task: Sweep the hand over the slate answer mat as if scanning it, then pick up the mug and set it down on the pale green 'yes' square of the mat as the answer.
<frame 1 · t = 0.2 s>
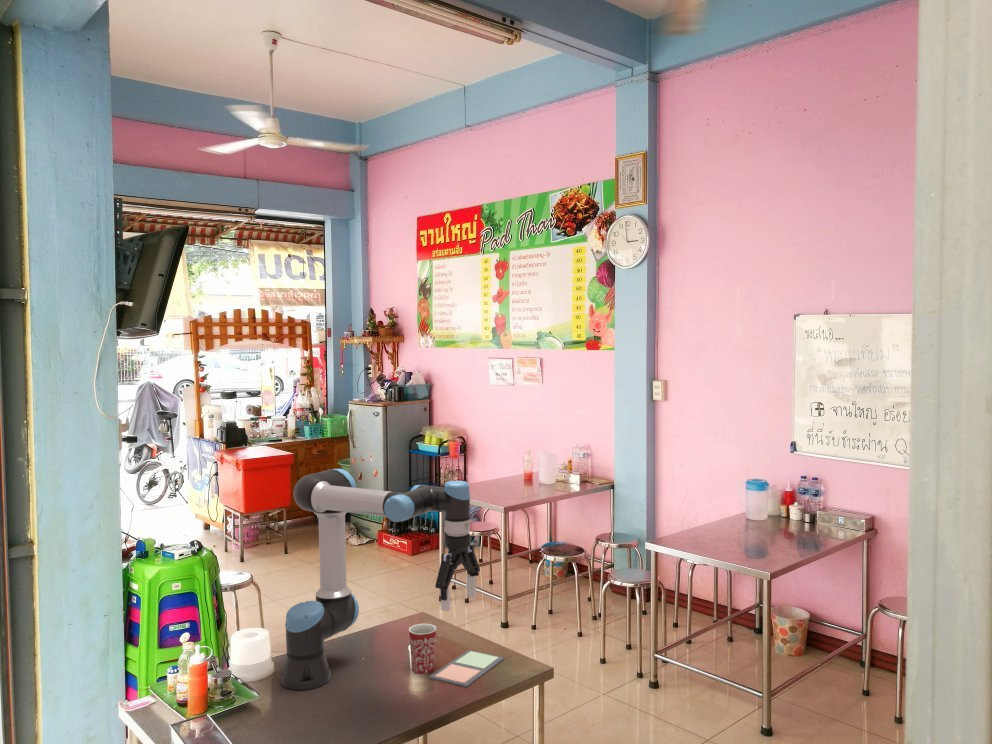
hand: (458, 603, 231), 28 cm above the table, fingers open, 13 cm apart
mug: (421, 667, 252), on the table
answer mat: (467, 668, 250), on the table
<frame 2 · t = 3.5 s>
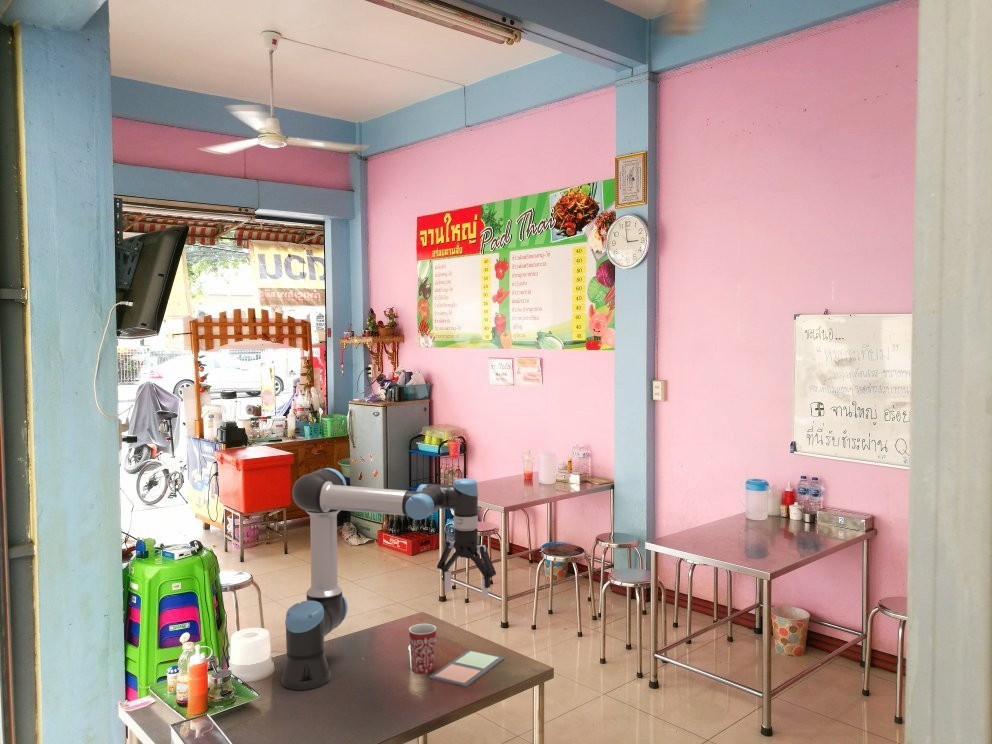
hand: (466, 594, 244), 26 cm above the table, fingers open, 13 cm apart
nothing on the table moved.
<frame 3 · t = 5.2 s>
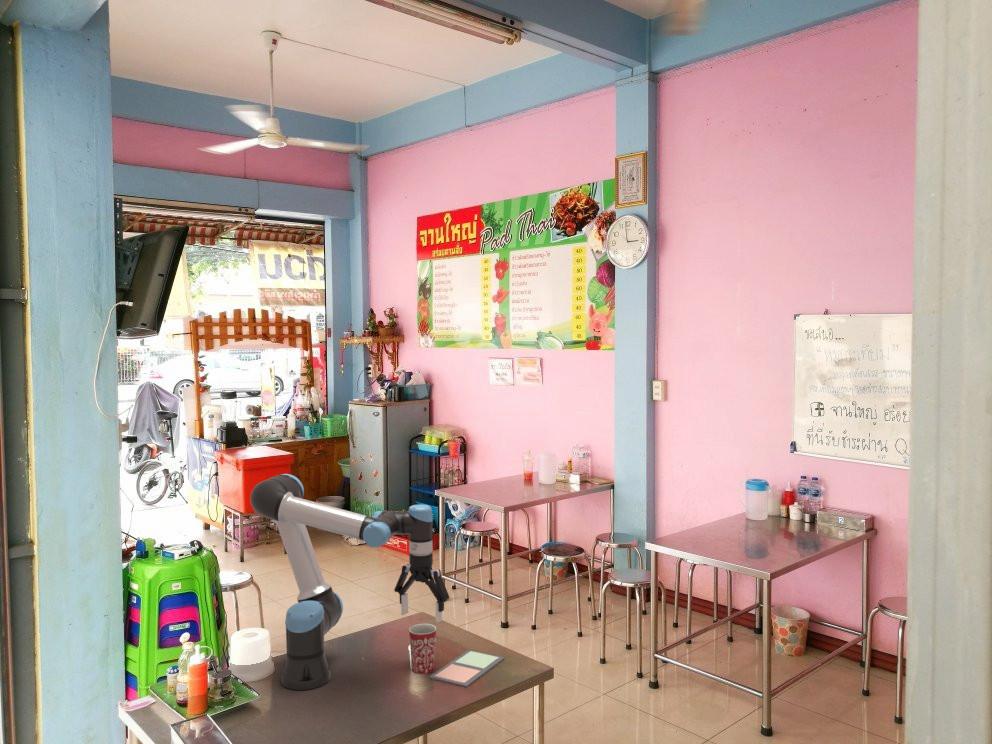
hand: (421, 617, 251), 17 cm above the table, fingers open, 13 cm apart
nothing on the table moved.
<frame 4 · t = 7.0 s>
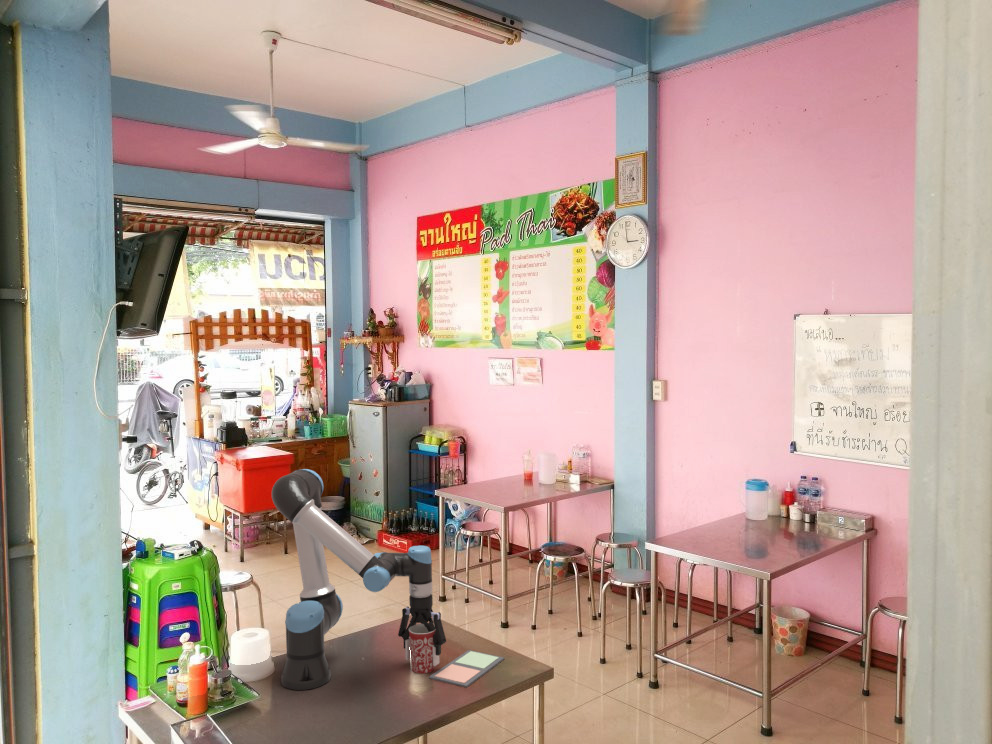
hand: (422, 661, 252), 2 cm above the table, fingers closed on mug, 10 cm apart
mug: (421, 667, 252), on the table, touching gripper
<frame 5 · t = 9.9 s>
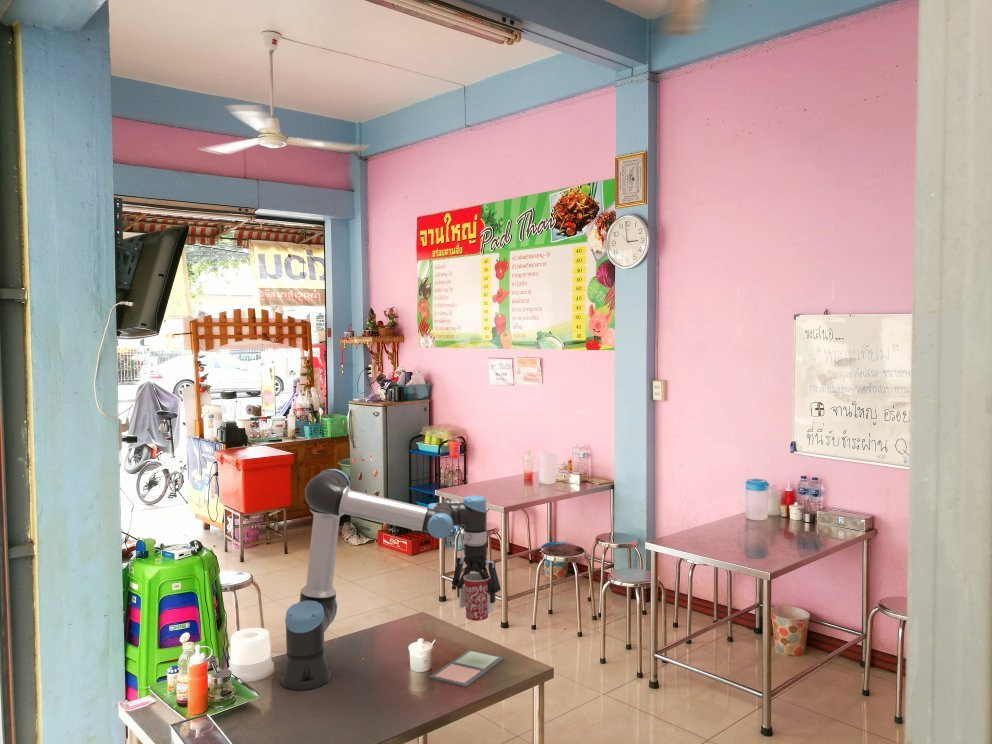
hand: (476, 609, 255), 18 cm above the table, fingers closed on mug, 10 cm apart
mug: (475, 615, 255), point 15 cm above the table, touching gripper
when the fingers open (4 cm above the table, at t = 12.9 s): mug stays where it is, resting on answer mat.
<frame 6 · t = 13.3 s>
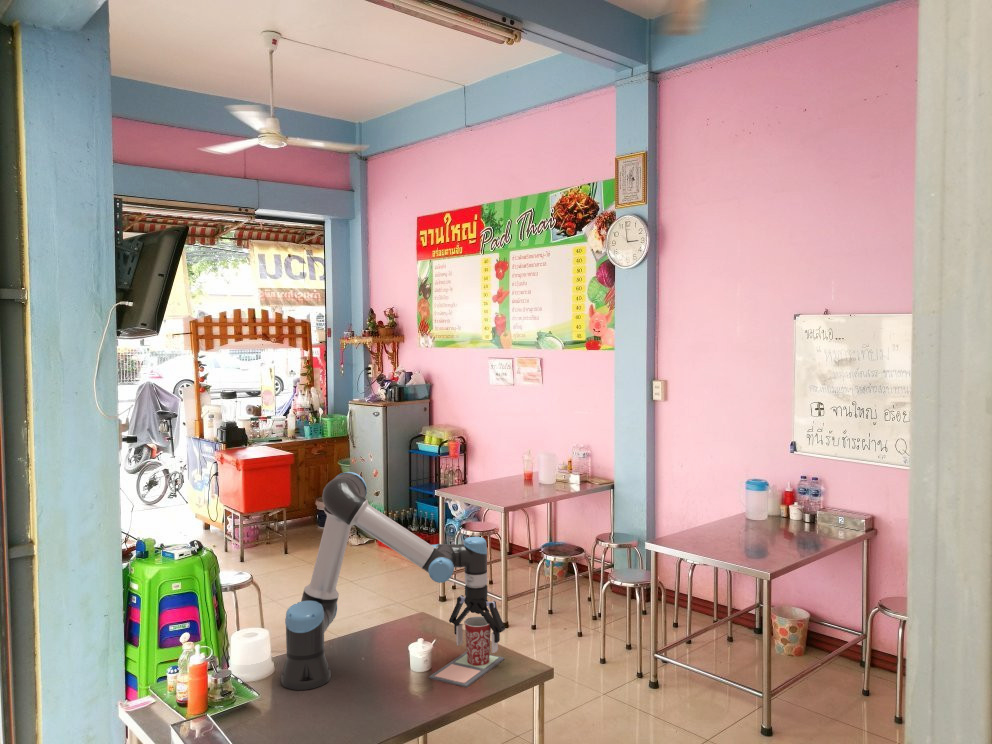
hand: (476, 648, 255), 5 cm above the table, fingers open, 13 cm apart
mug: (476, 659, 256), point 1 cm above the table, touching answer mat
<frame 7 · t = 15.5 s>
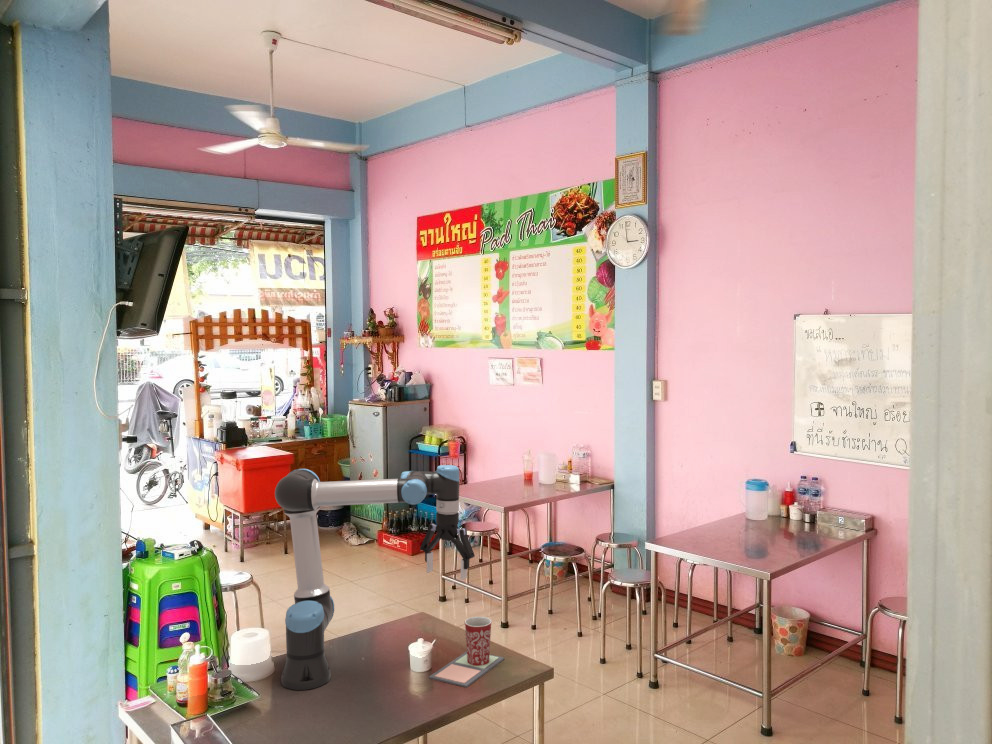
hand: (446, 575, 257), 29 cm above the table, fingers open, 13 cm apart
nothing on the table moved.
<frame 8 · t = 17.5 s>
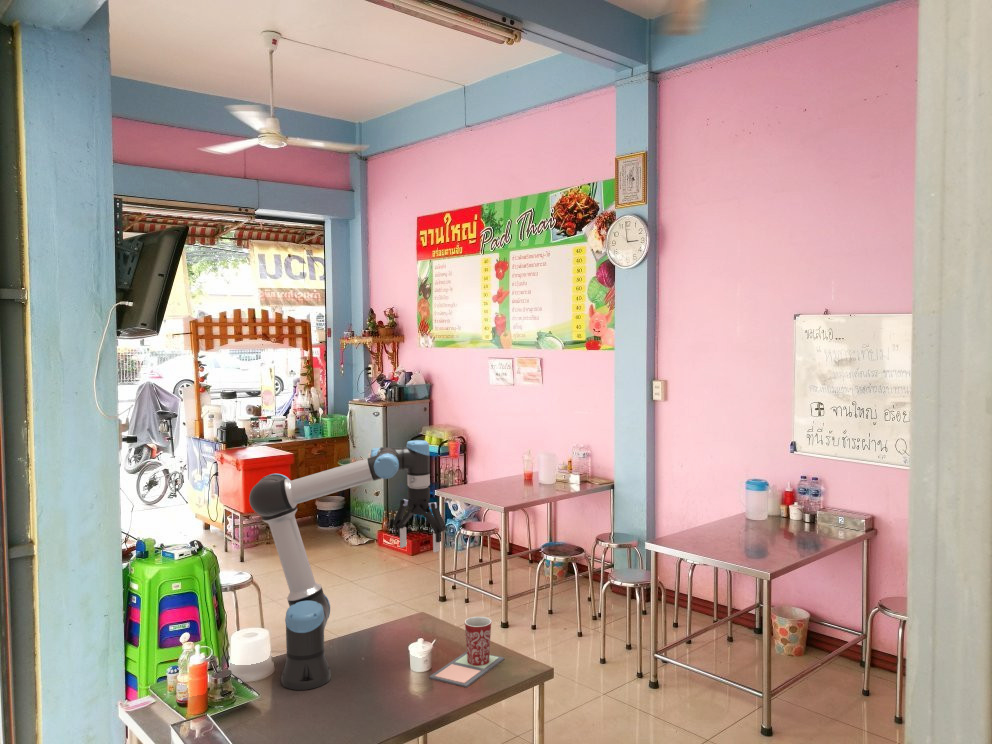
hand: (419, 549, 259), 37 cm above the table, fingers open, 13 cm apart
nothing on the table moved.
at the end: mug inside the target area on the answer mat (0.3 cm from its centre), point 0.6 cm above the answer mat's base; mug tilted 0°; the gripper is holding nothing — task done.
